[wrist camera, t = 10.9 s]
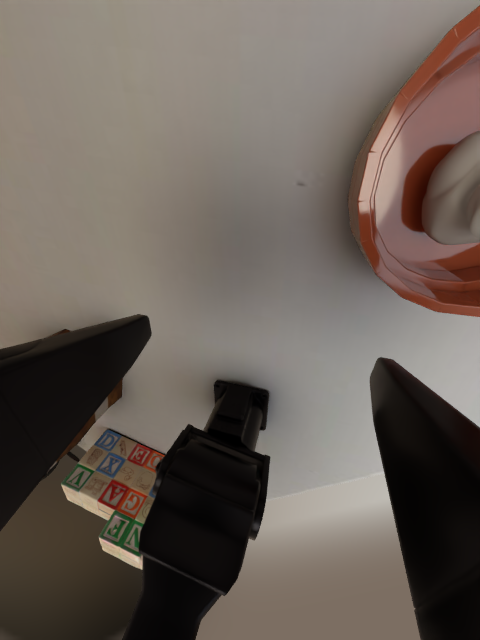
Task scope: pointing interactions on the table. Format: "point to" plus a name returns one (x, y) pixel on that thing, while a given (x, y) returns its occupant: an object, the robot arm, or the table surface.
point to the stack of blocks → (116, 491)
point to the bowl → (420, 177)
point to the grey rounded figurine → (455, 195)
